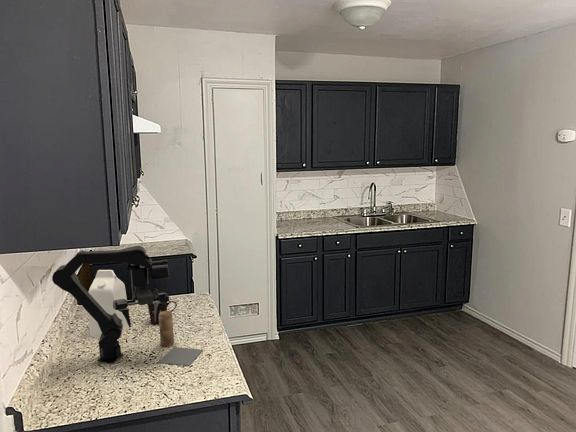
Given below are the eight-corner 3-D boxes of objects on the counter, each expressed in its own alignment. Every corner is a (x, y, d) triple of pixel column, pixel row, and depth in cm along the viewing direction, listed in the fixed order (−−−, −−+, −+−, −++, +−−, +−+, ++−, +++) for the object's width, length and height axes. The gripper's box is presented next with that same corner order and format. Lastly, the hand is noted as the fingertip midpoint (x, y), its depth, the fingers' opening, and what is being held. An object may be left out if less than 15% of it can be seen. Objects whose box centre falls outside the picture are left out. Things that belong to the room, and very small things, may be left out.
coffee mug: (144, 324, 193) (142, 302, 191) (155, 317, 201) (153, 295, 200) (169, 326, 190) (167, 304, 189) (178, 319, 198) (177, 297, 197)
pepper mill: (158, 346, 172) (155, 315, 170) (164, 340, 177) (162, 310, 175) (170, 347, 171) (168, 316, 169) (176, 341, 176) (174, 311, 174)
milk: (130, 325, 193) (125, 266, 189) (118, 336, 182) (112, 274, 178) (103, 324, 194) (98, 266, 190) (89, 336, 183) (83, 274, 179)
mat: (157, 362, 159) (157, 362, 159) (173, 347, 171) (173, 347, 171) (189, 366, 156) (189, 365, 156) (203, 350, 168) (203, 349, 168)
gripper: (117, 287, 150) (120, 334, 150) (172, 279, 160) (175, 323, 160) (110, 284, 159) (114, 328, 159) (163, 277, 169) (166, 318, 169)
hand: (143, 324), depth 162 cm, fingers open, 9 cm apart
